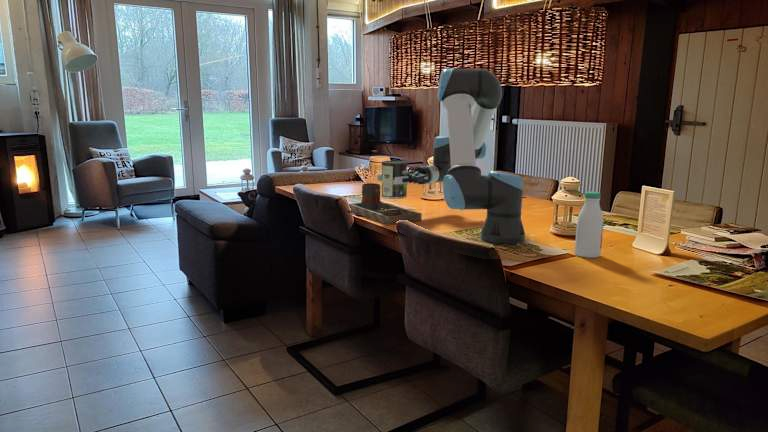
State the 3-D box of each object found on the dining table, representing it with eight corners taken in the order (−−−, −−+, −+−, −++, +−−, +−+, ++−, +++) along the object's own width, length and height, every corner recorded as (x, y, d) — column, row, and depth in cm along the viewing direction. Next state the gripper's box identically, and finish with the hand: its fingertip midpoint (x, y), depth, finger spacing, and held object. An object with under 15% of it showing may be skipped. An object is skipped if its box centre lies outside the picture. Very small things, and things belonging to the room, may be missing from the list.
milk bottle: (597, 259, 169) (603, 195, 165) (571, 256, 173) (576, 192, 169) (602, 254, 176) (608, 191, 172) (577, 250, 180) (582, 189, 176)
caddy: (421, 220, 222) (421, 213, 222) (387, 224, 214) (387, 217, 213) (379, 207, 249) (379, 200, 248) (348, 210, 241) (348, 203, 240)
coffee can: (408, 195, 227) (409, 160, 224) (404, 199, 217) (405, 163, 214) (383, 194, 229) (384, 160, 226) (378, 198, 219) (379, 162, 216)
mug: (369, 215, 231) (369, 187, 229) (357, 210, 242) (358, 183, 240) (387, 213, 235) (388, 186, 233) (375, 208, 246) (376, 182, 243)
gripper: (445, 187, 226) (405, 192, 211) (406, 180, 242) (367, 185, 228) (446, 168, 224) (406, 172, 210) (407, 163, 241) (367, 166, 226)
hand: (386, 179), depth 219 cm, fingers closed on coffee can, 10 cm apart
